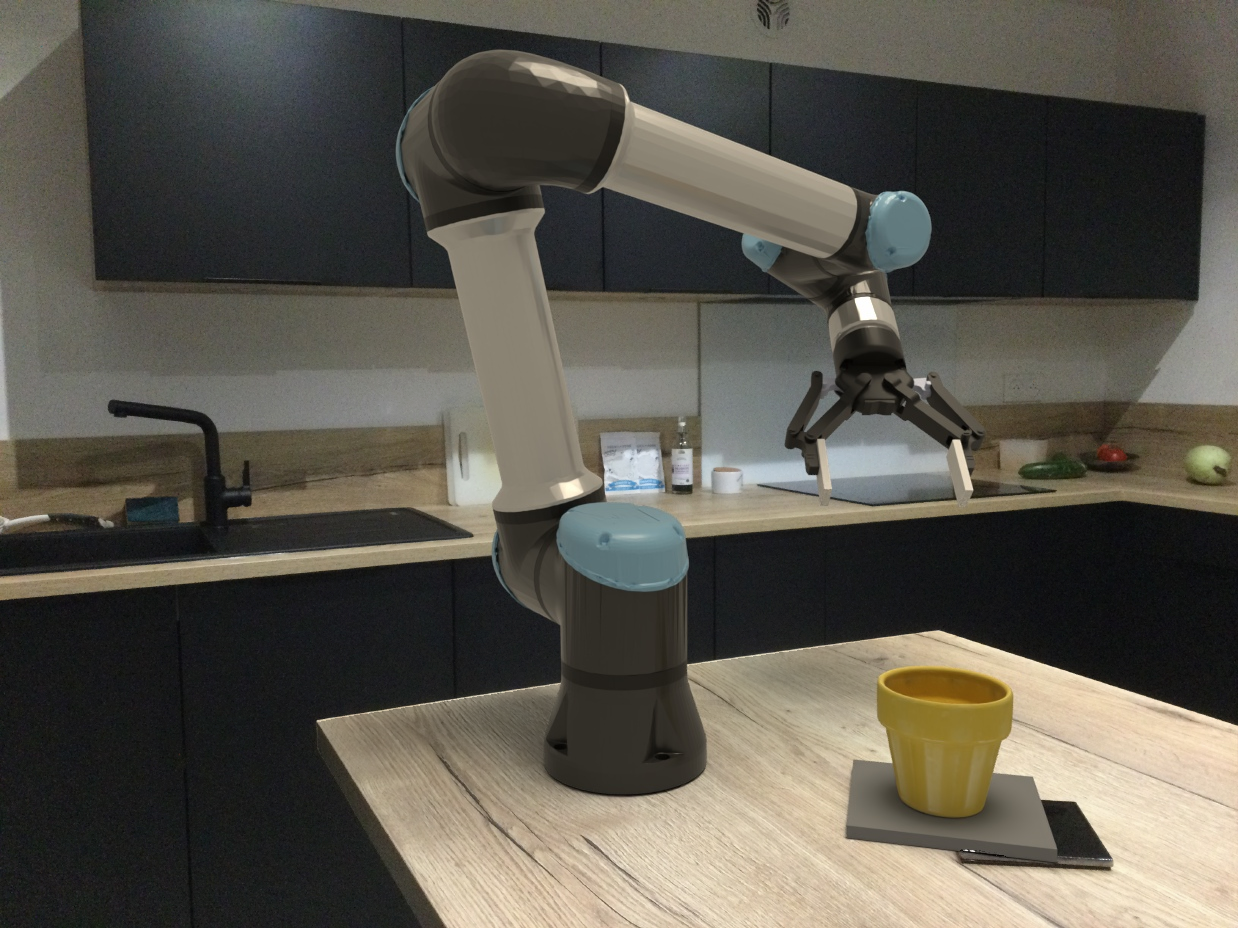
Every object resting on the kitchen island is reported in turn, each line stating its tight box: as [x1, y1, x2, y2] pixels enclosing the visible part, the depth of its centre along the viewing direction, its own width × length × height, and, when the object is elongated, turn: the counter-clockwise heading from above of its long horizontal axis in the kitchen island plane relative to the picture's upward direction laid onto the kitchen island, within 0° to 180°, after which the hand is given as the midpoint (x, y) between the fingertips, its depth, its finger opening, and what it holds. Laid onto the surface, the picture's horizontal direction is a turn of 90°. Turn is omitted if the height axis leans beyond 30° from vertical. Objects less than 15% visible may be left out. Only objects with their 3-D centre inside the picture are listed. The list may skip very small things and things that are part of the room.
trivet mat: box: [845, 758, 1058, 863], centre depth 78 cm, size 15×13×1 cm
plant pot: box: [876, 665, 1014, 818], centre depth 78 cm, size 10×10×10 cm
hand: (895, 498), depth 94 cm, fingers open, 13 cm apart
